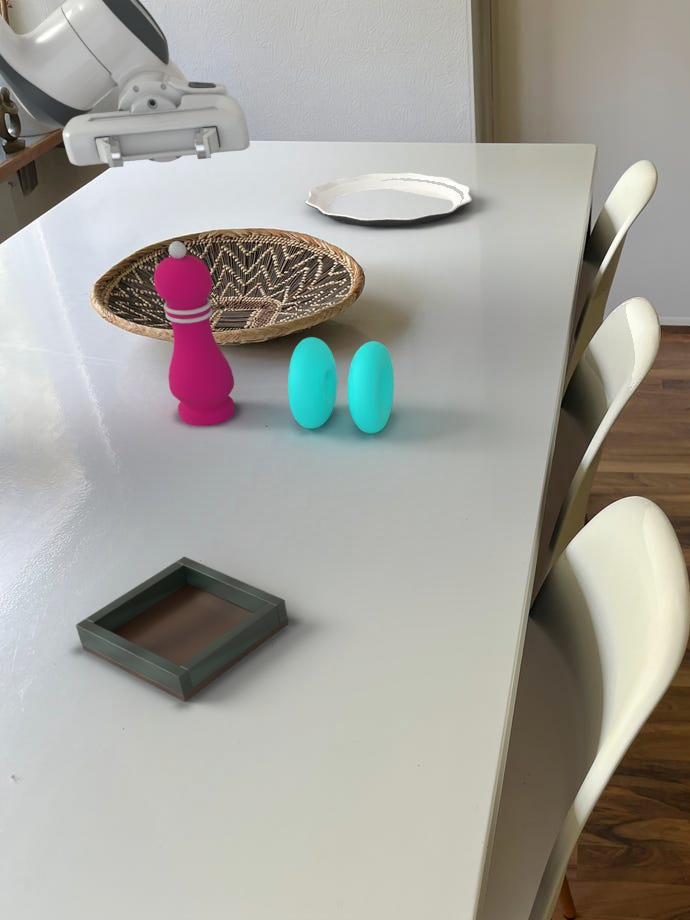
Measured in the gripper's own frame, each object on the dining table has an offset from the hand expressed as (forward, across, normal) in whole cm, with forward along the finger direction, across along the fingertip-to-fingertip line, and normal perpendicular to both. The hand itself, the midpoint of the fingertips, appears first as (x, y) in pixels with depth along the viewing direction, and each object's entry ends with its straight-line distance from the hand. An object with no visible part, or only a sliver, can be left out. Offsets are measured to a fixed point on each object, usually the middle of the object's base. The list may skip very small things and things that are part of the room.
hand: (159, 155), depth 111 cm
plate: (-64, +35, +32) cm, 80 cm away
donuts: (+19, +15, +26) cm, 35 cm away
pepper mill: (+12, 0, +25) cm, 28 cm away
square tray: (+55, -4, +22) cm, 59 cm away
